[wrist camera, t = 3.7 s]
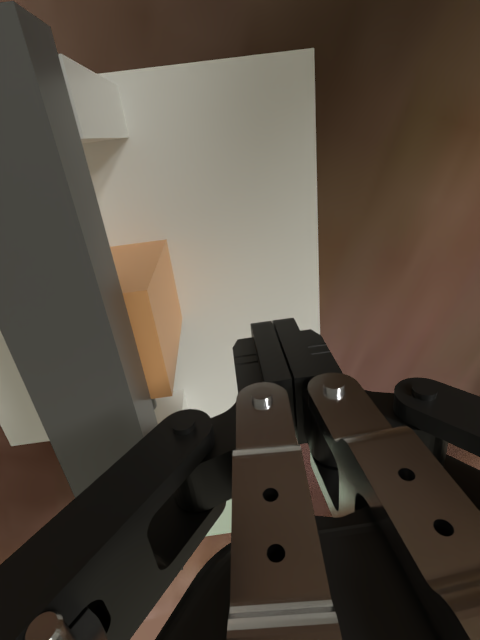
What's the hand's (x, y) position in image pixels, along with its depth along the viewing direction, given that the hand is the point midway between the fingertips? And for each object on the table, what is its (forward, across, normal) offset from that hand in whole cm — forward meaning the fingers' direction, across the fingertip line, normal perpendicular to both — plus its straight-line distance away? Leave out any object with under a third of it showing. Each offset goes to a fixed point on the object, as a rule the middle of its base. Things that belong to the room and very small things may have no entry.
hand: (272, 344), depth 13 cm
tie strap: (+1, +6, 0) cm, 6 cm away
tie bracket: (+9, +6, 0) cm, 11 cm away
